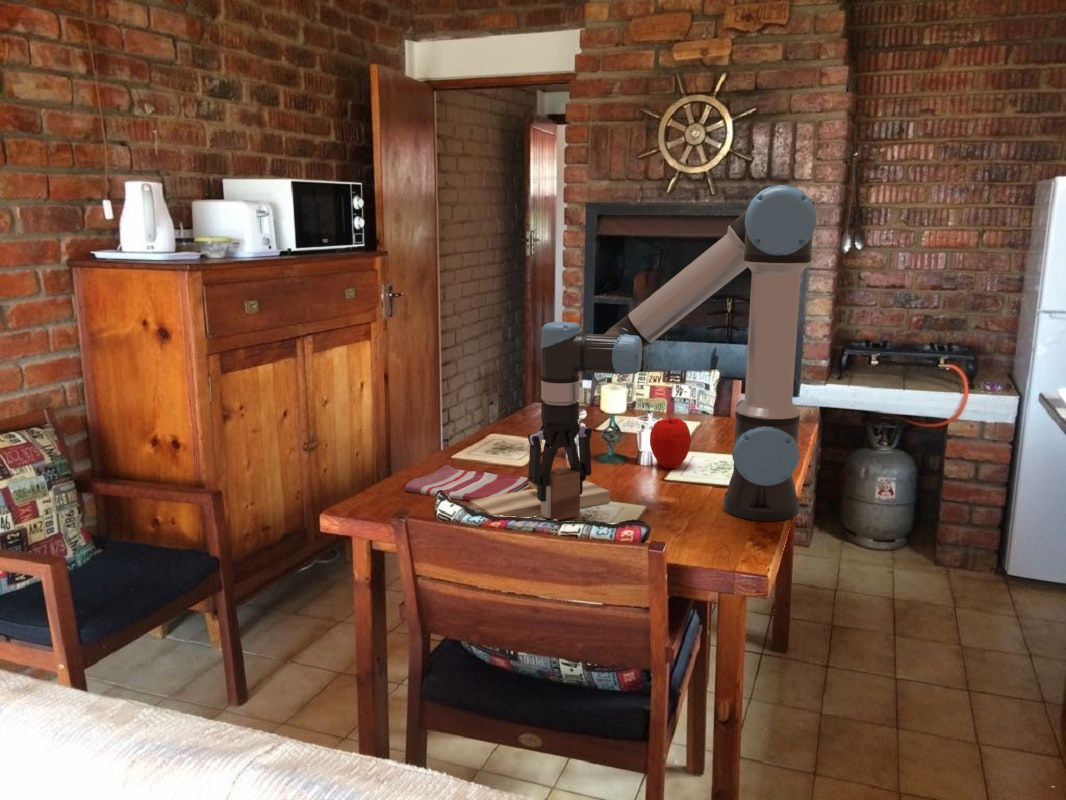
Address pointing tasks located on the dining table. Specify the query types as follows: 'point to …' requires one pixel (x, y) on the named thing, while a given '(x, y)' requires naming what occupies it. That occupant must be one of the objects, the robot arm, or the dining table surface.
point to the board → (535, 501)
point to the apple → (670, 442)
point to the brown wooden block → (564, 493)
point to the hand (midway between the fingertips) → (560, 512)
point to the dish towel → (467, 484)
